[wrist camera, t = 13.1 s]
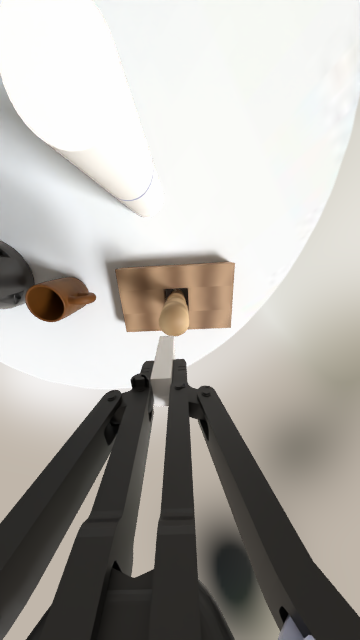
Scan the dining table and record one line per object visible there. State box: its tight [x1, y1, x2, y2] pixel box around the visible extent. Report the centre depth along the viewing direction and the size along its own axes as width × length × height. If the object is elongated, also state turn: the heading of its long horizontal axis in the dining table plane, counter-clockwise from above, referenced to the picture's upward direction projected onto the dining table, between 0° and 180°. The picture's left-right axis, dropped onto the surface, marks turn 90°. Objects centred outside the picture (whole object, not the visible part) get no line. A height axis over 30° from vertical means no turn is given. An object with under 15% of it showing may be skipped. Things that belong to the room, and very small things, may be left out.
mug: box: [25, 277, 96, 322], centre depth 36 cm, size 12×8×9 cm, turn 94°
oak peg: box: [159, 289, 189, 336], centre depth 33 cm, size 5×5×16 cm
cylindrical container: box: [0, 0, 163, 217], centre depth 22 cm, size 7×7×25 cm
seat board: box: [115, 262, 235, 332], centre depth 39 cm, size 24×14×4 cm, turn 93°
